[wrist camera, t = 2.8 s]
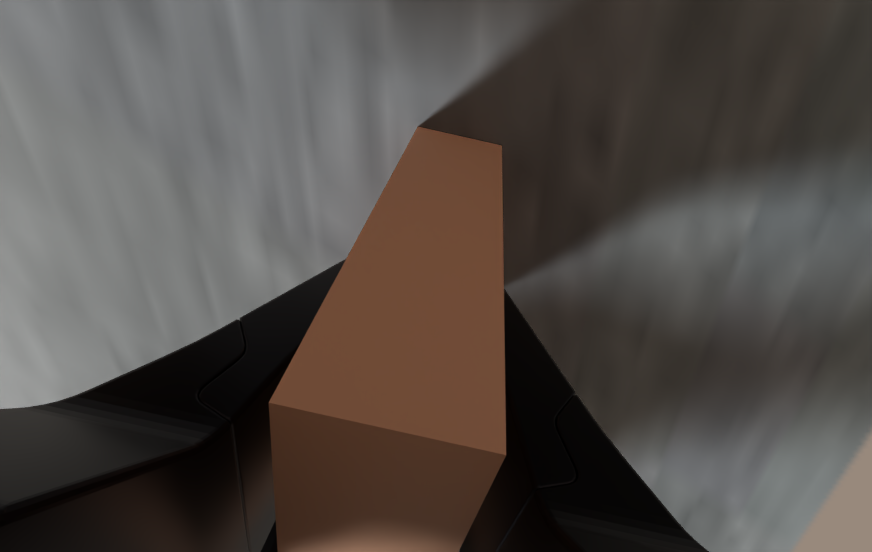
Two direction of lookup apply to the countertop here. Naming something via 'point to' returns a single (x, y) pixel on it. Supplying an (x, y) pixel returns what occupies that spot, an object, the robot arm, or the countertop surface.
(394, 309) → the loose domino
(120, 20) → the countertop surface
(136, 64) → the countertop surface
